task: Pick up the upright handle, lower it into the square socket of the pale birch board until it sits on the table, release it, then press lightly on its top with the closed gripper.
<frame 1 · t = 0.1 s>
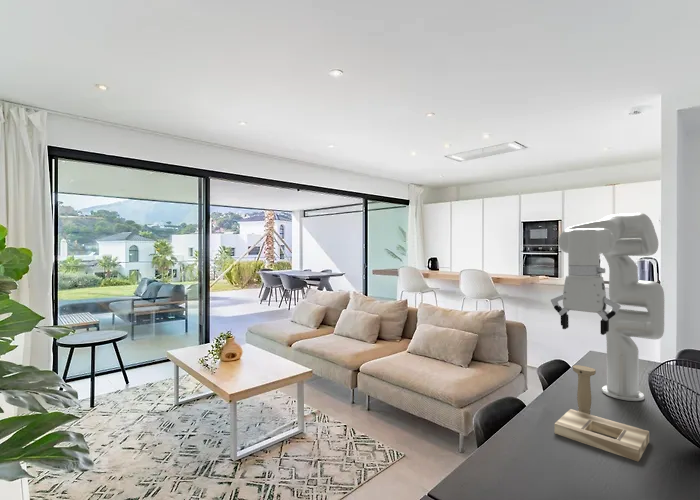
hand: (583, 331, 107), 31 cm above the table, tool pointing down, fingers open, 9 cm apart
handle: (584, 413, 123), on the table
board: (600, 437, 108), on the table
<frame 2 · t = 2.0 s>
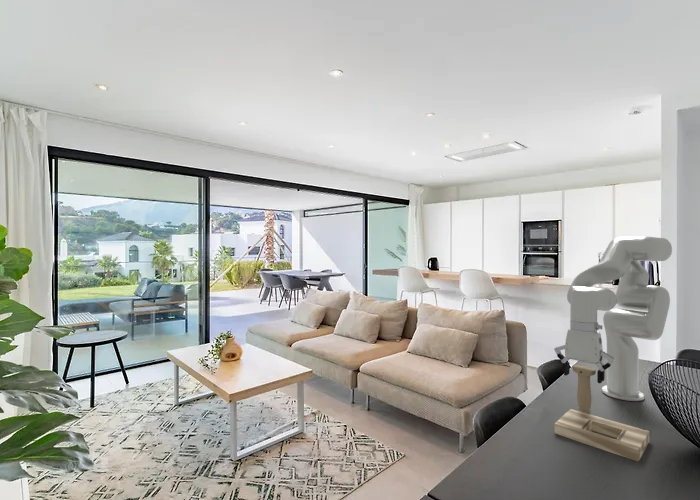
hand: (582, 378, 123), 12 cm above the table, tool pointing down, fingers open, 9 cm apart
nothing on the table moved.
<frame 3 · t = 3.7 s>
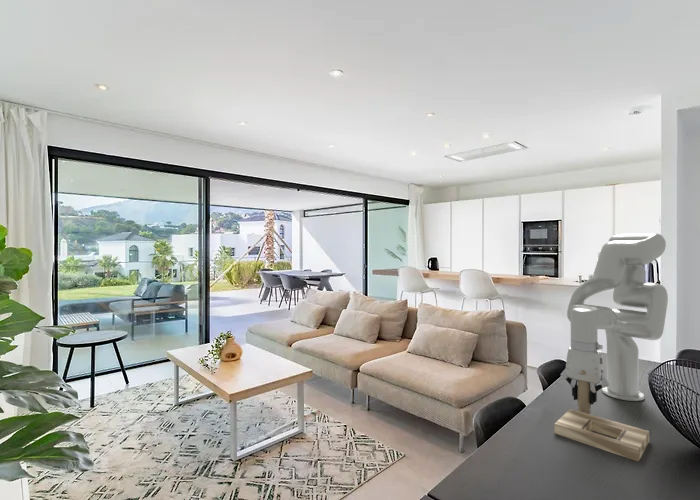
hand: (584, 400, 123), 4 cm above the table, tool pointing down, fingers closed on handle, 4 cm apart
handle: (584, 413, 123), on the table, touching gripper
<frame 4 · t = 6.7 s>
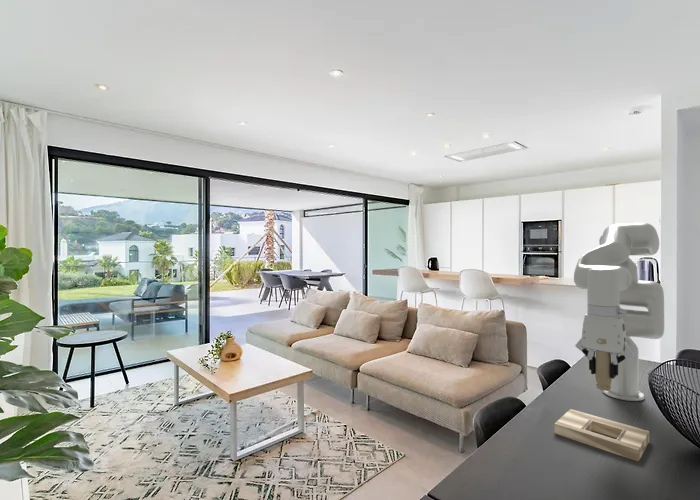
hand: (603, 374, 106), 19 cm above the table, tool pointing down, fingers closed on handle, 4 cm apart
handle: (603, 390, 106), point 14 cm above the table, touching gripper
when the fingers open (6 cm above the table, at t = 9.7 s): handle stays where it is, point 1 cm above the table.
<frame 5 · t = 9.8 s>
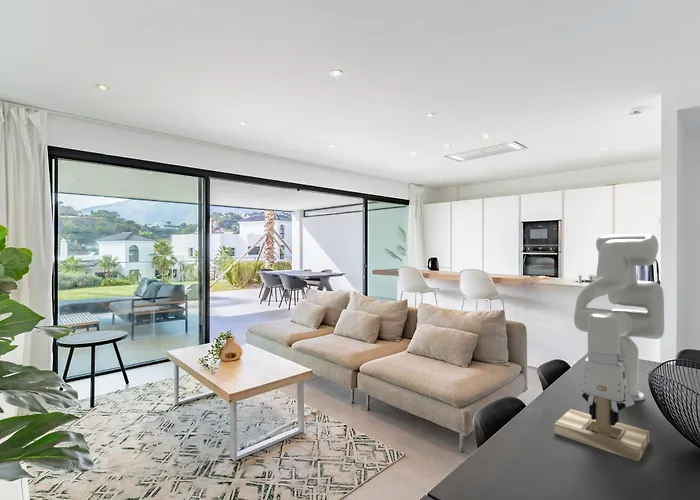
hand: (603, 420, 106), 6 cm above the table, tool pointing down, fingers open, 4 cm apart
handle: (603, 435, 106), point 1 cm above the table
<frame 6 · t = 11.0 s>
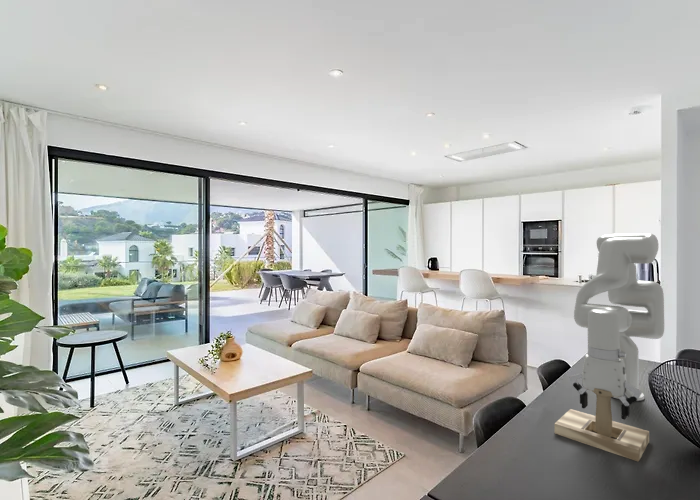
hand: (603, 412, 107), 8 cm above the table, tool pointing down, fingers open, 9 cm apart
handle: (603, 440, 107), resting in board
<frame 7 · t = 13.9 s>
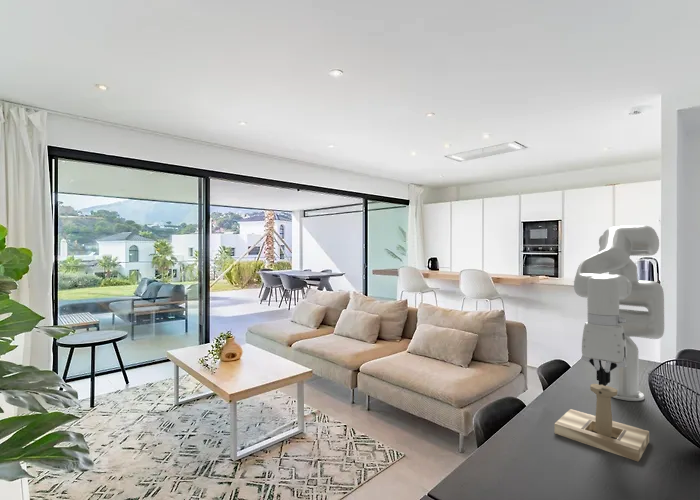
hand: (603, 383, 106), 16 cm above the table, tool pointing down, fingers closed
nothing on the table moved.
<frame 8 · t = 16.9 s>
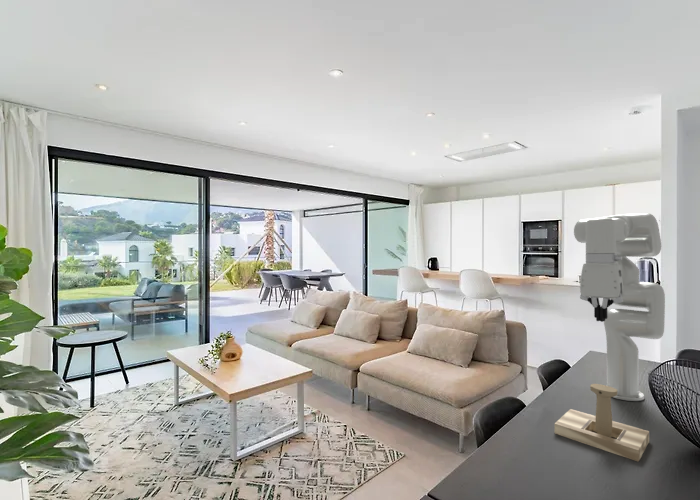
hand: (600, 320, 111), 33 cm above the table, tool pointing down, fingers closed
nothing on the table moved.
at the end: handle 0.2 cm from the target spot on the board, point 0.0 cm above the board's base; handle tilted 0°; the gripper is holding nothing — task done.
